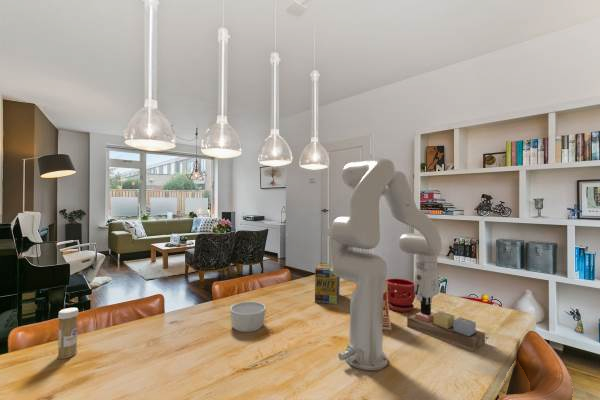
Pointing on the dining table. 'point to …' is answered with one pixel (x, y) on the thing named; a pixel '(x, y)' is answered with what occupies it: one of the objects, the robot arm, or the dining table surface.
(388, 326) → the milk carton
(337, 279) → the protein box
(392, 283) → the plant pot
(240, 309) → the ramekin
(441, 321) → the tile
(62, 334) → the sprinkles bottle
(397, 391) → the dining table surface
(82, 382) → the dining table surface
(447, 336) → the wooden tile rack
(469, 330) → the tile
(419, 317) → the three-pip tile
